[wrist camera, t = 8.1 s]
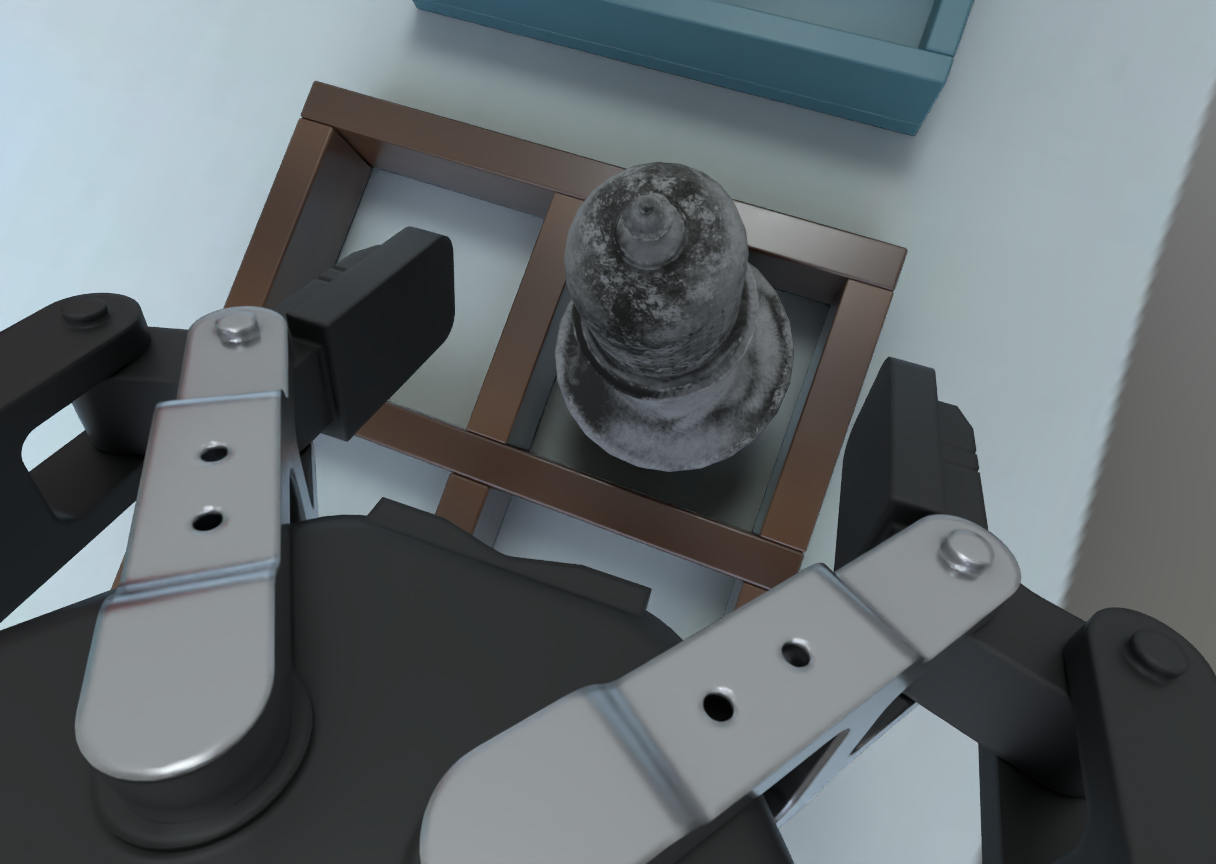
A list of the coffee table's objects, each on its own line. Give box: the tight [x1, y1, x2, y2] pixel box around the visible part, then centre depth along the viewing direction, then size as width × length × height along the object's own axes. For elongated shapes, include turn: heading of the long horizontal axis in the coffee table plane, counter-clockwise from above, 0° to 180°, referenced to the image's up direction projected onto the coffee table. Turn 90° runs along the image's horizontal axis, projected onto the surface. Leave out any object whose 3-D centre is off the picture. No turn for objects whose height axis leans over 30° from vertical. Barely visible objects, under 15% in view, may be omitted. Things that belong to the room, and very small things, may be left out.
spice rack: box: [111, 81, 907, 618], centre depth 20 cm, size 18×18×2 cm
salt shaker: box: [555, 162, 794, 472], centre depth 15 cm, size 6×6×12 cm
